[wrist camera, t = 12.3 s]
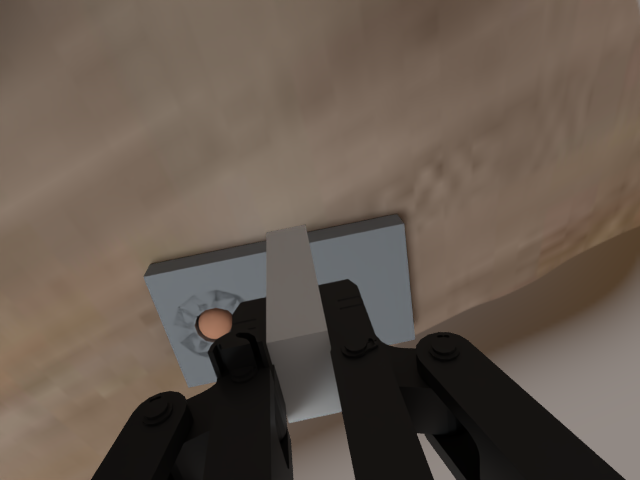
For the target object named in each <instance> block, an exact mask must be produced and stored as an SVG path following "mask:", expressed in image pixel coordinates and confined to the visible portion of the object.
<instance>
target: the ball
mask: <svg viewBox="0 0 640 480" xmlns="http://www.w3.org/2000/svg"><path fill="white" fill-rule="evenodd" d="M231 327H232V315H231V313H230V312H229V311H228V310H224V309H220V308H213V309H208V310H205V311H204V312H202V313H201V315H200V317H199V328H200V331H201V332H202V333H203V335H205V336H206V337H208V338H211V339H218V338H219V337H221V336H223V335H225V334H226V333H229V331H230V330H231Z"/></svg>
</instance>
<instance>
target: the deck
mask: <svg viewBox="0 0 640 480" xmlns="http://www.w3.org/2000/svg"><path fill="white" fill-rule="evenodd" d="M307 235H308V240H309V244H310V249H311V254H312V259H313V263H314V268H315V273H316V278H317V283H318V285H321V284H326V283H330V282H335V281H340V280H345V279H349V280H350V281H352V282H353V283H354V284H356V285H357V286H358V289H359V291H360V294H361V297H362V299H363V302H364V305H365V307H366V310H367V313H368V316H369V318H370V321H371V324H372V326H373V329H374V332H375V334H376V336H377V337H378V338H379V339H380V340H381V341H382V342H383V343H385V344H387V345H391V344H396V343H400V342H405V341H410V340H414V339H415V334H414V323H413V313H412V302H411V291H410V281H409V270H408V259H407V249H406V238H405V228H404V223H403V221H402V220H401V219H400V217H399V216H398V215H397V214H395V215H390V216H385V217H380V218H375V219H370V220H365V221H360V222H355V223H351V224H346V225H341V226H336V227H331V228H326V229H321V230H316V231H311V232H307ZM144 280H145V282H146V284H147V287H148V289H149V292H150V294H151V297H152V299H153V302H154V304H155V306H156V309H157V311H158V314H159V316H160V319H161V321H162V324H163V326H164V329H165V331H166V333H167V336H168V338H169V341H170V343H171V346H172V348H173V351H174V353H175V355H176V358H177V360H178V363H179V365H180V368H181V370H182V373H183V375H184V378H185V380H186V382H187V385H188V387H194V386H198V385H203V384H208V383H212V382H217V377H216V374H215V372H214V369H213V366H212V363H211V361H210V358H209V355H208V351H209V348H210V346H211V345H212V344H213V343H214V342H215V341H216V340H217V339H211V338H208V337H206V336H205V335H203V333H202V332H201V331H200V328H199V317H200V316H199V315H200V314H201V313H202V312H204V311H205V310H208V309H213V308H220V309H224V310H228V311H229V312H230V313H232V314H233V312H234V311H235V310H236V308H237V307H238V305H239V304H240V303H241V302H245V301H249V300H254V299H259V298H264V297H266V241H262V242H257V243H253V244H248V245H243V246H238V247H233V248H228V249H223V250H218V251H213V252H209V253H204V254H199V255H194V256H189V257H184V258H179V259H174V260H169V261H164V262H160V263H155V264H150V265H149V267H148V269H147V271H146V273H145V275H144ZM229 332H231V330H230V331H229Z"/></svg>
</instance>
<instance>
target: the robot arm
mask: <svg viewBox="0 0 640 480" xmlns="http://www.w3.org/2000/svg"><path fill="white" fill-rule="evenodd" d="M208 355H209V358H210V361H211V363H212V366H213V369H214V372H215V374H216V377H217V382H216V384H215V385H213V386H212V387H211V388H209V389H208V390H206V391H204V392H202V393H200V394H198V395H196V396H194V397H191V398H189V399H187V400H186V399H185V396H183V395H182V394H180V393H179V392H173V391H168V392H162V393H159V394H156V395H154V396H152V397H150V398H148V399H147V400H146V401H144V402H143V403H141V404H140V405H139V406H138V407H137V409H136V410H135V411H134V412H133V413H132V415H131V416H130V418H129V420H128V421H127V423H126V424H125V426H124V428H123V429H122V431H121V432H120V434H119V436H118V437H117V439H116V440H115V442H114V444H113V445H112V447H111V448H110V450H109V452H108V453H107V455H106V456H105V458H104V460H103V461H102V463H101V464H100V466H99V468H98V469H97V471H96V472H95V474H94V476H93V477H92V479H91V480H293V466H292V450H291V439H290V436H289V432H288V429H287V420H286V419H287V418H288V421H289V423H292V422H297V421H301V420H306V419H311V418H315V417H319V416H324V415H328V414H334V413H338V412H342V414H343V419H344V425H345V429H346V434H347V439H348V445H349V450H350V455H351V460H352V465H353V469H354V475H355V480H434V479H433V476H432V473H431V471H430V468H429V465H428V463H427V460H426V457H425V455H424V452H423V449H422V447H421V444H420V441H419V439H418V436H417V433H423V434H425V436H426V438H427V440H428V441H429V442H430V444H431V445H432V447H433V448H434V449H435V451H436V452H437V454H438V455H439V456H440V458H441V459H442V460H443V462H444V463H445V464H446V466H447V467H448V469H449V470H450V471H451V473H452V474H453V475H454V477H455V478H456V480H625V479H624V478H623V477H622V476H621V475H620V474H619V473H617V472H616V471H615V470H614V469H613V468H612V467H611V466H610V465H608V464H607V463H606V462H605V461H604V460H603V459H602V458H600V457H599V456H598V455H597V454H596V453H595V452H594V451H593V450H591V449H590V448H589V447H588V446H587V445H586V444H585V443H583V442H582V441H581V440H580V439H579V438H578V437H577V436H575V435H574V434H573V433H572V432H571V431H570V430H569V429H568V428H567V427H565V426H564V425H563V424H562V423H561V422H560V421H558V420H557V419H556V418H555V417H554V416H553V415H552V414H551V413H550V412H548V411H547V410H546V409H545V408H544V407H543V406H542V405H540V404H539V403H538V402H537V401H536V400H535V399H534V398H532V397H531V396H530V395H529V394H528V393H527V392H526V391H524V390H523V389H522V388H521V387H520V386H519V385H518V384H517V383H516V382H514V381H513V380H512V379H511V378H510V377H509V376H508V375H506V374H505V373H504V372H503V371H502V370H501V369H500V368H499V367H497V366H496V365H495V364H494V363H493V362H492V361H491V360H490V359H488V358H487V357H486V356H485V355H484V354H483V353H482V352H481V351H479V350H478V349H477V348H476V347H475V346H474V345H472V344H471V343H470V342H469V341H468V340H466V339H465V338H463V337H461V336H460V335H457V334H453V333H449V332H438V333H434V334H429V335H427V336H426V337H424V338H422V339H421V340H420V341H419V343H418V344H417V345H416V349H413V348H397V347H393V346H389V345H387V344H385V343H383V342H382V341H381V340H380V339H379V338H378V337H377V336H376V334H375V332H374V329H373V326H372V324H371V321H370V318H369V316H368V313H367V310H366V307H365V305H364V302H363V299H362V297H361V294H360V291H359V289H358V286H357V285H356V284H354V283H353V282H352V281H350V280H349V279H345V280H340V281H335V282H330V283H326V284H321V285H318V283H317V278H316V273H315V268H314V263H313V259H312V254H311V249H310V244H309V240H308V235H307V230H306V225H301V226H296V227H291V228H286V229H281V230H276V231H271V232H267V233H266V297H264V298H259V299H254V300H249V301H245V302H241V303H240V304H239V305H238V307H237V308H236V310H235V311H234V312H233V318H232V327H231V332H229V333H226V334H225V335H223V336H221V337H219V338H218V339H217V340H216V341H215V342H214V343H213V344H212V345H211V346H210V348H209V351H208ZM286 414H287V418H286Z"/></svg>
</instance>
